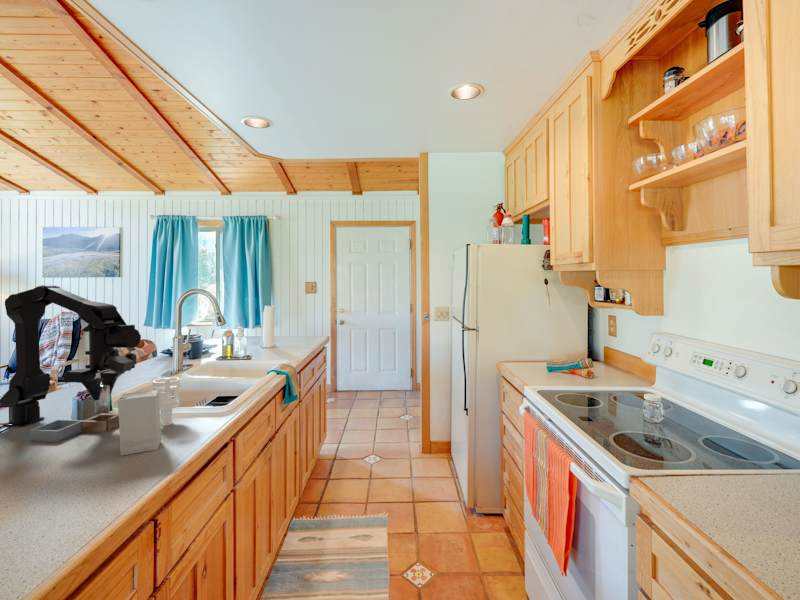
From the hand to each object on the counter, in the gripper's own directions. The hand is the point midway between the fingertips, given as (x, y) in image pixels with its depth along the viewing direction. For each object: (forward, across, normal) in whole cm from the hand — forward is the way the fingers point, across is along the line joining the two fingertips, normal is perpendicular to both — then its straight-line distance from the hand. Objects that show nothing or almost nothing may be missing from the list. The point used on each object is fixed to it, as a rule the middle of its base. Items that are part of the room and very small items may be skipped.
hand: (102, 398), depth 108 cm
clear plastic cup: (+9, +4, -17) cm, 19 cm away
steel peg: (+4, 0, 0) cm, 4 cm away
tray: (+9, -6, +7) cm, 13 cm away
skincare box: (+9, -12, -22) cm, 27 cm away
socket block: (+9, 0, 0) cm, 9 cm away
